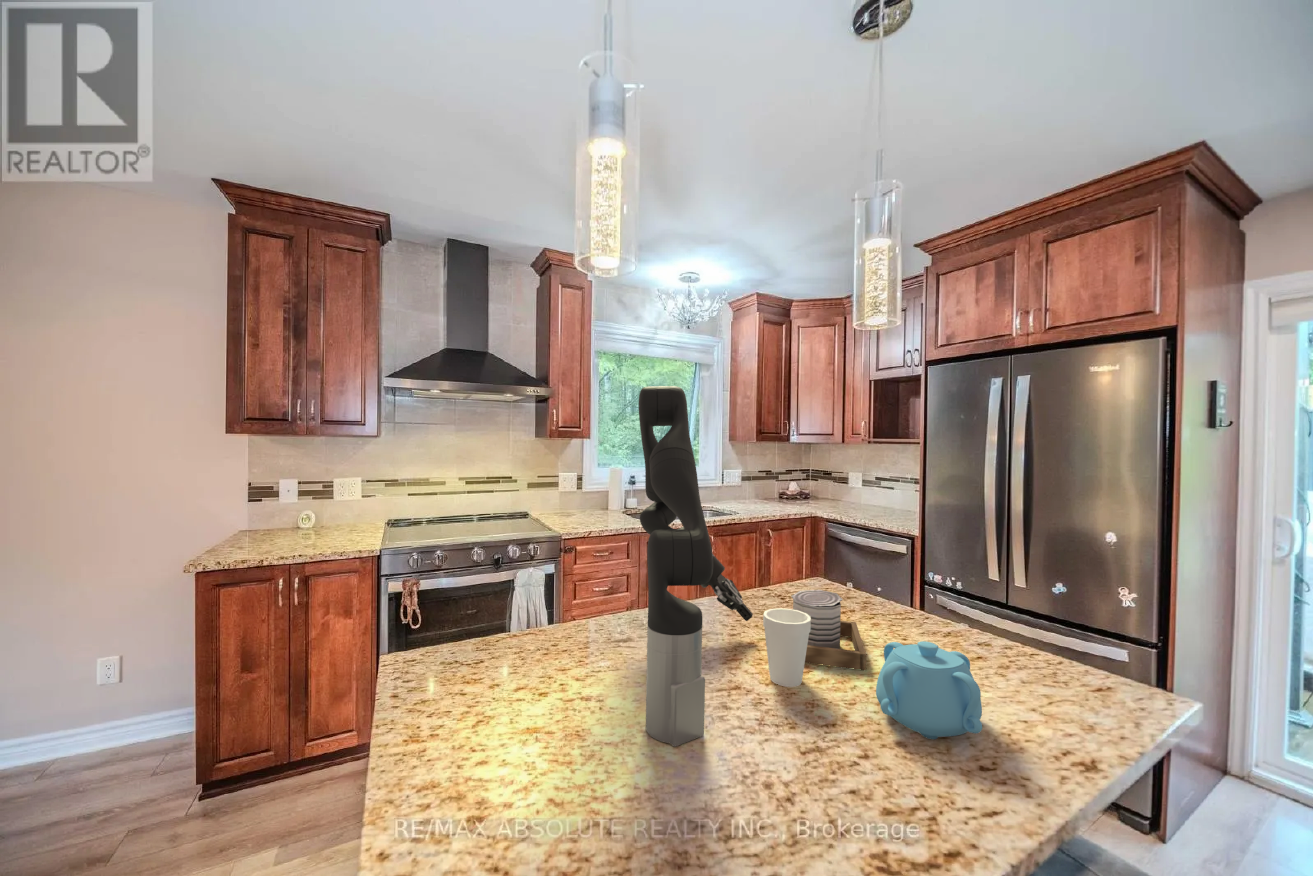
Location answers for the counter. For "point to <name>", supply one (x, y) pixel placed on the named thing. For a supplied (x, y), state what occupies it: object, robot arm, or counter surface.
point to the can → (821, 616)
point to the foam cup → (786, 644)
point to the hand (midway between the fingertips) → (749, 618)
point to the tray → (840, 651)
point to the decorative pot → (929, 690)
